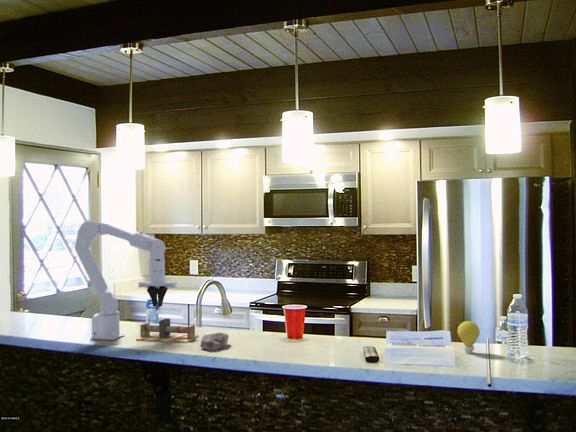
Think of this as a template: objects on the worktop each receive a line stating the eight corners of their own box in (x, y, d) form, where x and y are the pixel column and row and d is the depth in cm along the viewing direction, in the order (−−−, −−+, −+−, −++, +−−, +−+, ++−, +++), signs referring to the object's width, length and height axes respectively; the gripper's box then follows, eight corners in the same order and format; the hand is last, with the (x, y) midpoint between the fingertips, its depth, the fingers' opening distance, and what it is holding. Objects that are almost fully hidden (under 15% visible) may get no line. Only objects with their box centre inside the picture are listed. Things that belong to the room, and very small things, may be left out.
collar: (159, 337, 209) (159, 321, 209) (165, 334, 214) (165, 318, 214) (163, 337, 208) (163, 321, 208) (170, 334, 213) (170, 318, 213)
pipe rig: (135, 340, 209) (135, 326, 209) (149, 334, 218) (149, 321, 218) (186, 342, 203) (186, 328, 203) (198, 336, 213) (198, 323, 213)
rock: (196, 351, 191) (196, 337, 191) (207, 343, 202) (207, 330, 202) (219, 352, 190) (219, 338, 190) (230, 344, 201) (230, 331, 201)
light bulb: (462, 349, 188) (462, 318, 188) (483, 352, 184) (482, 320, 184) (454, 353, 183) (453, 321, 183) (475, 356, 179) (474, 323, 179)
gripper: (134, 271, 217) (135, 307, 217) (171, 271, 214) (171, 308, 214) (142, 269, 224) (143, 304, 224) (178, 270, 221) (178, 305, 221)
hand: (157, 306), depth 220 cm, fingers closed
